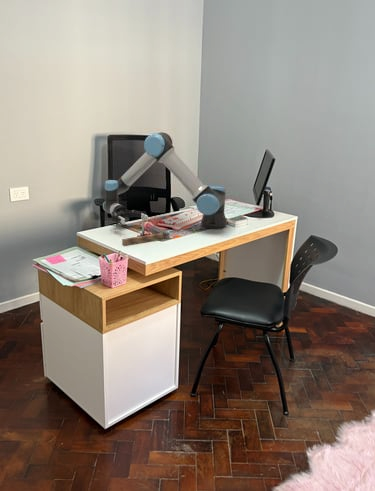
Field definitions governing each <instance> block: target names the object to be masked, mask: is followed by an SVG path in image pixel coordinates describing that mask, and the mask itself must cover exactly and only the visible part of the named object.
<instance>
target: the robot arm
mask: <svg viewBox="0 0 375 491" xmlns="http://www.w3.org/2000/svg"><path fill="white" fill-rule="evenodd" d="M143 147H144V148H143V149H144V151H145V152H144V153H143V154H142V155H141V156H140V157H139V158H138V159H137V160H136V162H134V163H133V165H132V166H130V168H128V169H127V170H126V171H125V173H123V175H122V176H121V177H120V178H119V179H118V180H115V179H108V180H105V181H104V201H103V203H102V209H103V210H104V212H106V213H107V214H110V215H111V221H112V222H115V223H118V222H119V223H120V224H122V225H126V219H125V218H141V219H143V215H144V219H145V221H146V222H148V221H149V216H148V215H147V212H146V211H140V210H135V209H132V210H128V209H127V207H126V206H125V205H122V204H120V203H119V195H121V194H124V193H126V192H127V191H129V189H130V187H131V186H132V185H134V183H135V182H136V181H137V180H138V179H139V178H140V177H141V176H142V175H144V174H145V172H146V171H148V169H149V168H151V166H152V165H153V164H155V162H156V161H157V162H158V163H161V164H163V165H164V166H165V167H166V168H167V169H168V170H169V172H170V173H172V175H173V176H174V177H175V178H176V179H177V180H178V181H179V183H180V184H181V185H182V186H183V187H184V188H185V189H186V190H187V191H188V193H189V194H190V195H191V196H192V201H193V202H194V203H195V204H196V208H197V210H198V212H199V213H201V214H202V217H201V219H200V226H201V227H202V228H206V229H212V230H219V229H225V228H226V227H227V224H228V222H227V218H226V214H225V207H226V206H225V204H226V193H227V191H226V188H225V187H224V186H218V185H217V186H215V185H214V186H213V185H208V184H204V183H203V182H202V181H201V180H200V179H199V177H198V176H197V175H196V174H195V173H194V172H193V171H192V170H191V169H190V167H189V166H188V165H187V164H186V163H185V162H184V161H183V160H182V159H181V157H180V156H179V155H178V154H177V153H176V151H175V147H174V146H173V139H172V137H171V136H170V134H167V133H166V132H157V133H156V132H155V133H152V134H150V135H148V136H147V137H146V138H145V140H144V143H143Z"/></svg>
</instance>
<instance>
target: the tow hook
mask: <svg viewBox="0 0 375 491" xmlns="http://www.w3.org/2000/svg"><path fill="white" fill-rule="evenodd" d="M141 219H142V218H141ZM145 221H146V220H145V219H144V215H143V219H142V221H141V233H140V234H137V236H136V237H139V236H146V235H152V234H151V233H150V232H145Z"/></svg>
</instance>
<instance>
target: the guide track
mask: <svg viewBox="0 0 375 491" xmlns="http://www.w3.org/2000/svg"><path fill="white" fill-rule="evenodd" d="M147 231H149V232H148V233H150V232H151V233H152V235H145V236H139V237H137V236H133V237H127V238H122V239H121V242H122V243H121V244H122V246H124V247H125V246H133V245H137V244H138V245H139V244H145V243H149V242H151V243H152V242H156V241H161V240H162V241H164V240H169V239H170V232H168V231H166V230H164V229H162V228H160V227H158V226H156V225H150V226H147ZM151 233H150V234H151ZM163 239H164V240H163Z"/></svg>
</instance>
